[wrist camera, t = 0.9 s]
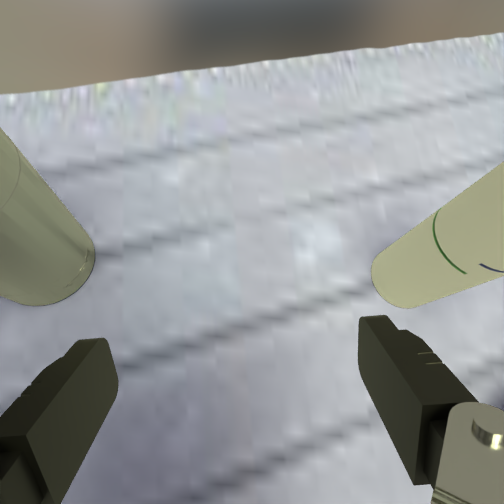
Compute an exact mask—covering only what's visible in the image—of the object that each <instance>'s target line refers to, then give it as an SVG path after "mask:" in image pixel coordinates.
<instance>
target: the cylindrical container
mask: <svg viewBox="0 0 504 504" xmlns="http://www.w3.org/2000/svg"><path fill="white" fill-rule="evenodd" d="M502 276H504V162H502V163H501V164H500V165H498V166H497V167H496V168H494V169H493V170H491V171H490V172H489V173H487V174H486V175H485V176H483V177H482V178H481V179H479V180H478V181H477V182H475V183H474V184H473V185H471V186H470V187H469V188H467V189H466V190H464V191H463V192H462V193H460V194H459V195H458V196H456V197H455V198H454V199H452V200H451V201H450V202H448V203H447V204H446V205H444V206H443V207H442V208H440V209H439V210H438V211H436V212H435V213H433V214H432V215H431V216H429V217H428V218H427V219H425V220H424V221H423V222H421V223H420V224H419V225H417V226H416V227H414V228H413V229H412V230H410V231H409V232H408V233H406V234H405V235H404V236H402V237H401V238H400V239H398V240H397V241H396V242H394V243H393V244H391V245H390V246H389V247H387V248H386V249H385V250H383V251H382V252H381V253H379V254H378V255H377V256H376V257H375V259H374V261H373V263H372V267H371V277H372V281H373V284H374V286H375V288H376V290H377V291H378V293H379V294H380V295H381V296H382V297H383V298H384V299H385V300H386V301H387V302H389V303H390V304H392V305H394V306H397V307H400V308H414V307H417V306H420V305H423V304H426V303H429V302H431V301H434V300H437V299H440V298H443V297H446V296H449V295H451V294H454V293H457V292H460V291H463V290H465V289H468V288H471V287H474V286H477V285H480V284H482V283H485V282H488V281H491V280H494V279H496V278H499V277H502Z"/></svg>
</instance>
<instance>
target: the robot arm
mask: <svg viewBox="0 0 504 504" xmlns="http://www.w3.org/2000/svg"><path fill="white" fill-rule="evenodd" d="M94 260H95V249H94V246H93V242H92V240H91V239H90V237H89V235H88V234H87V233H86V231H85V230H84V229H83V228H82V226H81V225H80V224H79V223H78V222H77V220H76V219H75V218H74V216H73V215H72V214H71V213H70V211H69V210H68V209H67V208H66V207H65V205H64V204H63V203H62V202H61V200H60V199H59V198H58V197H57V196H56V194H55V193H54V192H53V191H52V189H51V188H50V187H49V186H48V185H47V183H46V182H45V181H44V180H43V178H42V177H41V176H40V175H39V174H38V172H37V171H36V170H35V169H34V167H33V166H32V165H31V164H30V163H29V161H28V160H27V159H26V158H25V156H24V155H23V154H22V153H21V152H20V150H19V149H18V148H17V147H16V145H15V144H14V143H13V142H12V141H11V139H10V138H9V137H8V136H7V135H6V134H5V132H4V131H3V130H2V129H1V128H0V296H2V297H4V298H7V299H9V300H12V301H14V302H17V303H20V304H23V305H29V306H42V305H48V304H52V303H56V302H58V301H60V300H63V299H65V298H67V297H68V296H70V295H71V294H73V293H74V292H76V291H77V290H78V289H79V288H80V287H81V286H82V285H83V284H84V282H85V281H86V280H87V278H88V277H89V275H90V273H91V271H92V268H93V265H94ZM358 365H359V371H360V374H361V377H362V380H363V382H364V384H365V386H366V388H367V390H368V392H369V394H370V396H371V399H372V401H373V403H374V405H375V407H376V409H377V411H378V413H379V415H380V417H381V419H382V421H383V423H384V425H385V427H386V429H387V431H388V433H389V436H390V438H391V440H392V442H393V444H394V446H395V448H396V450H397V452H398V454H399V456H400V458H401V460H402V462H403V464H404V466H405V468H406V471H407V473H408V475H409V477H410V479H411V481H412V483H413V485H425V484H431V486H432V488H433V490H434V491H433V495H432V500H431V504H504V411H503V410H501V409H498V408H496V407H493V406H491V405H487V404H483V403H479V402H478V401H477V400H476V399H475V397H474V396H473V395H472V394H471V393H470V392H469V391H468V390H467V389H466V387H465V386H464V385H463V384H462V383H461V382H460V381H459V380H458V379H457V377H456V376H455V375H454V374H453V373H452V372H451V371H450V370H449V368H448V367H447V366H446V365H445V364H443V363H442V361H441V360H440V358H439V357H438V356H437V355H436V354H434V353H433V351H432V349H431V348H430V347H429V346H428V345H427V344H426V343H425V342H424V341H423V339H421V338H419V337H418V336H416V335H414V334H413V333H411V332H409V331H408V330H398V329H397V327H396V326H395V325H394V324H393V322H392V321H391V320H390V319H389V318H388V316H386V315H377V316H365V317H360V319H359V333H358ZM117 392H118V376H117V373H116V369H115V365H114V362H113V358H112V354H111V351H110V347H109V344H108V341H107V340H106V339H105V338H94V339H82V340H78V341H76V342H75V344H74V345H73V346H72V347H71V348H70V349H69V350H68V352H67V353H66V354H65V355H64V356H63V357H61V358H59V359H58V360H56V361H55V362H53V363H52V364H51V365H49V366H48V367H46V368H45V369H43V371H42V372H41V373H40V374H39V375H38V376H37V377H36V378H35V379H34V380H33V382H32V383H31V385H30V386H28V387H27V388H26V389H25V390H24V391H23V393H22V394H21V397H18V398H17V399H16V400H15V401H14V402H13V403H12V405H11V406H10V407H9V408H8V409H7V410H6V411H5V412H4V413H3V414H2V416H1V417H0V504H61V502H62V500H63V498H64V496H65V494H66V493H67V491H68V489H69V487H70V485H71V483H72V481H73V479H74V477H75V475H76V473H77V471H78V470H79V468H80V466H81V464H82V462H83V460H84V458H85V456H86V454H87V452H88V450H89V448H90V447H91V445H92V443H93V441H94V439H95V437H96V435H97V433H98V431H99V429H100V427H101V425H102V424H103V422H104V420H105V418H106V416H107V414H108V412H109V410H110V408H111V406H112V404H113V402H114V401H115V398H116V396H117Z"/></svg>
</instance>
